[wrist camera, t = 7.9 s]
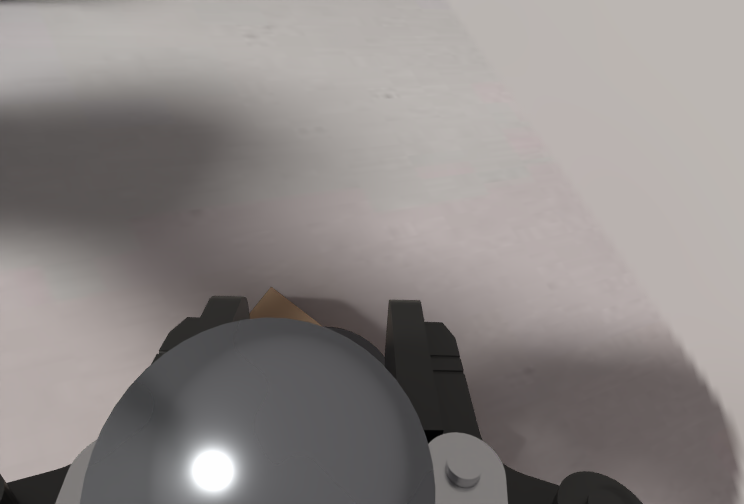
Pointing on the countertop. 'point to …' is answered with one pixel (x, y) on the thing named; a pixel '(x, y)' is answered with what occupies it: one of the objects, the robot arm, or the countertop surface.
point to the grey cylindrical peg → (263, 424)
